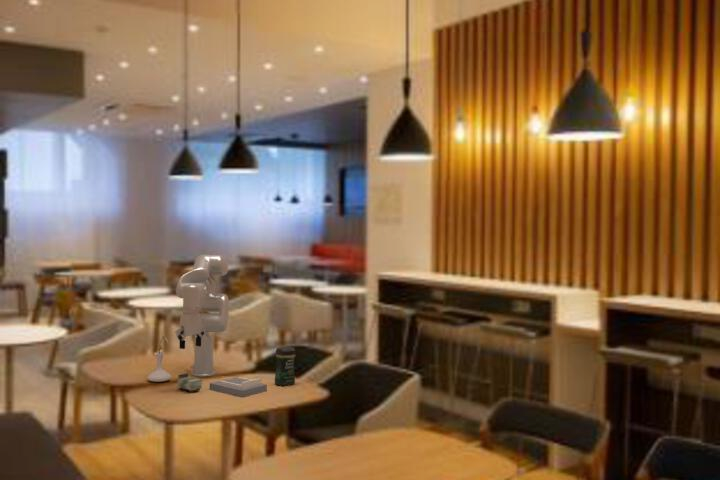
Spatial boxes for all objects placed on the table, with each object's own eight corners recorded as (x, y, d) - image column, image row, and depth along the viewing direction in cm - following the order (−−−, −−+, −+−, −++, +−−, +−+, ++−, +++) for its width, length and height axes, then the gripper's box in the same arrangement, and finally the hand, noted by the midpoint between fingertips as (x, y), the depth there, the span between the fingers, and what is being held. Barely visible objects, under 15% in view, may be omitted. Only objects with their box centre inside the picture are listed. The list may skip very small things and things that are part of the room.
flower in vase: (167, 383, 355) (168, 332, 355) (144, 383, 356) (144, 332, 355) (174, 377, 368) (175, 328, 368) (152, 377, 369) (152, 328, 368)
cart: (177, 390, 343) (177, 375, 343) (187, 387, 348) (187, 373, 348) (191, 393, 337) (191, 378, 337) (201, 391, 342) (201, 376, 342)
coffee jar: (280, 387, 354) (281, 349, 354) (272, 383, 361) (273, 346, 360) (297, 384, 361) (298, 347, 360) (288, 381, 367) (289, 344, 366)
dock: (209, 389, 346) (209, 376, 346) (234, 383, 359) (234, 371, 359) (242, 397, 333) (242, 384, 333) (266, 390, 346) (267, 378, 346)
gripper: (199, 308, 351) (199, 344, 351) (171, 311, 337) (170, 348, 337) (210, 310, 346) (209, 346, 347) (181, 313, 332) (181, 350, 333)
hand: (190, 347), depth 342 cm, fingers open, 9 cm apart
